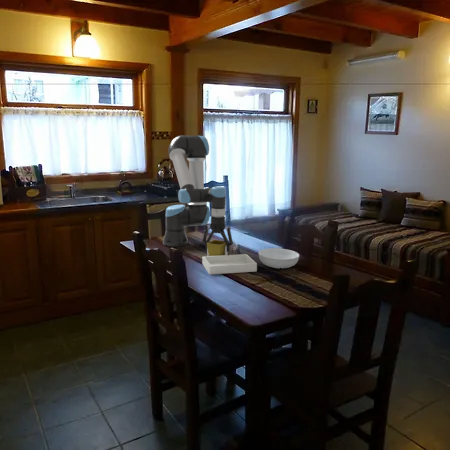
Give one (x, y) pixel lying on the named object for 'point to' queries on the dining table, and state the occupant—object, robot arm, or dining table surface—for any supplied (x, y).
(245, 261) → the tray
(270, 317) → the dining table surface
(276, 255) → the serving bowl
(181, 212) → the robot arm
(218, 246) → the flower pot
